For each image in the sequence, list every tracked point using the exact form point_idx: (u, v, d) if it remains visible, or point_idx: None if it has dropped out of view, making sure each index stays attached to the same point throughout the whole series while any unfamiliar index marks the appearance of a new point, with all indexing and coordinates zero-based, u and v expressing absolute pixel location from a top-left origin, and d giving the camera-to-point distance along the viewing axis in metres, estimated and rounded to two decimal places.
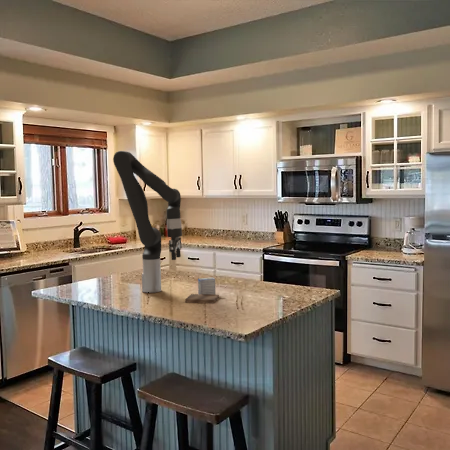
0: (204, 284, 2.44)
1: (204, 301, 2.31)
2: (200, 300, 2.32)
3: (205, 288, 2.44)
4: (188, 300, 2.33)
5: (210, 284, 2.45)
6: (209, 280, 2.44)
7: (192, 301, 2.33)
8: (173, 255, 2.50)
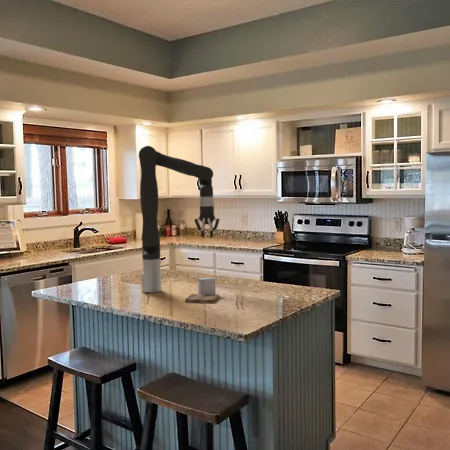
0: (204, 284, 2.44)
1: (204, 301, 2.31)
2: (200, 300, 2.32)
3: (205, 288, 2.44)
4: (188, 300, 2.33)
5: (210, 284, 2.45)
6: (209, 280, 2.44)
7: (192, 301, 2.33)
8: None
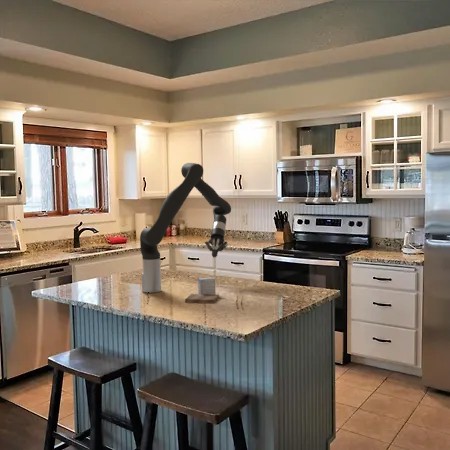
0: (204, 284, 2.44)
1: (204, 301, 2.31)
2: (200, 300, 2.32)
3: (205, 288, 2.44)
4: (188, 300, 2.33)
5: (210, 284, 2.45)
6: (209, 280, 2.44)
7: (192, 301, 2.33)
8: (217, 253, 2.66)
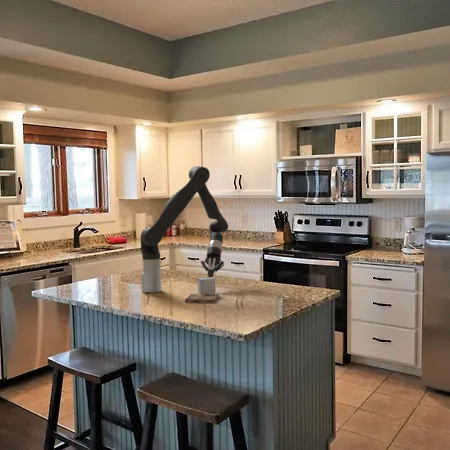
0: (204, 284, 2.44)
1: (204, 301, 2.31)
2: (200, 300, 2.32)
3: (205, 288, 2.44)
4: (188, 300, 2.33)
5: (210, 284, 2.45)
6: (209, 280, 2.44)
7: (192, 301, 2.33)
8: (213, 273, 2.56)
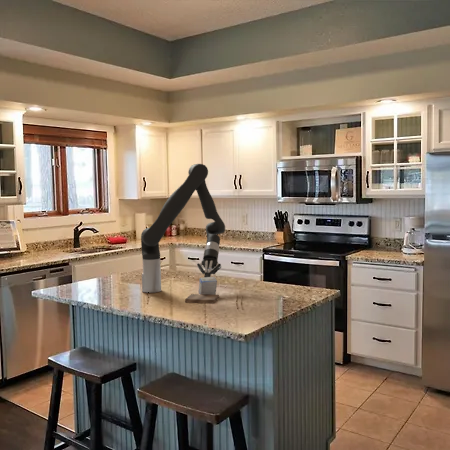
0: (205, 286, 2.42)
1: (204, 301, 2.31)
2: (200, 300, 2.32)
3: (206, 289, 2.43)
4: (188, 300, 2.33)
5: (211, 286, 2.43)
6: (211, 282, 2.42)
7: (192, 301, 2.33)
8: (210, 276, 2.48)
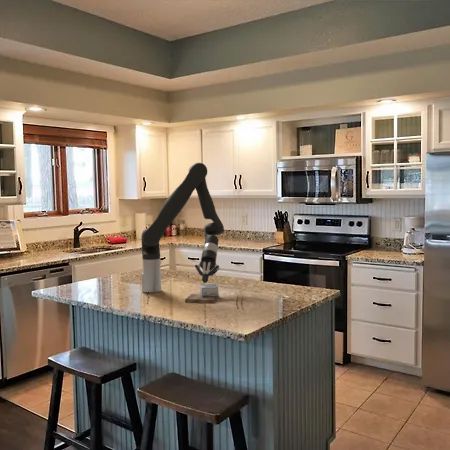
0: None
1: (204, 301, 2.31)
2: (200, 300, 2.32)
3: None
4: (188, 300, 2.33)
5: None
6: None
7: (192, 301, 2.33)
8: None
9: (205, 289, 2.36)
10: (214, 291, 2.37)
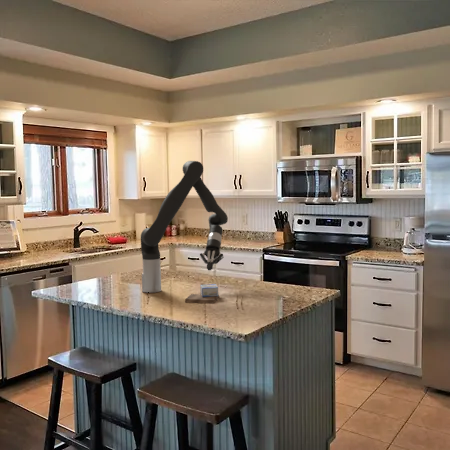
0: None
1: (204, 301, 2.31)
2: (200, 300, 2.32)
3: None
4: (188, 300, 2.33)
5: None
6: None
7: (192, 301, 2.33)
8: (212, 265, 2.54)
9: (205, 289, 2.36)
10: (214, 291, 2.37)
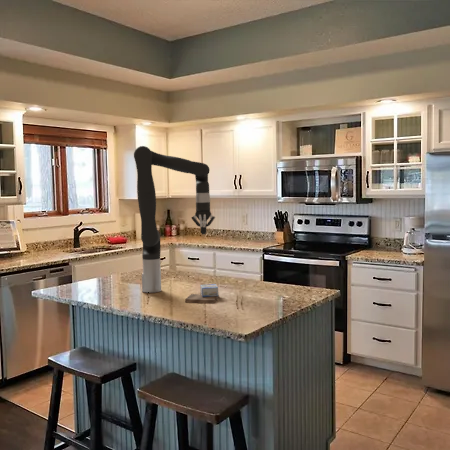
0: None
1: (204, 301, 2.31)
2: (200, 300, 2.32)
3: None
4: (188, 300, 2.33)
5: None
6: None
7: (192, 301, 2.33)
8: None
9: (205, 289, 2.36)
10: (214, 291, 2.37)
